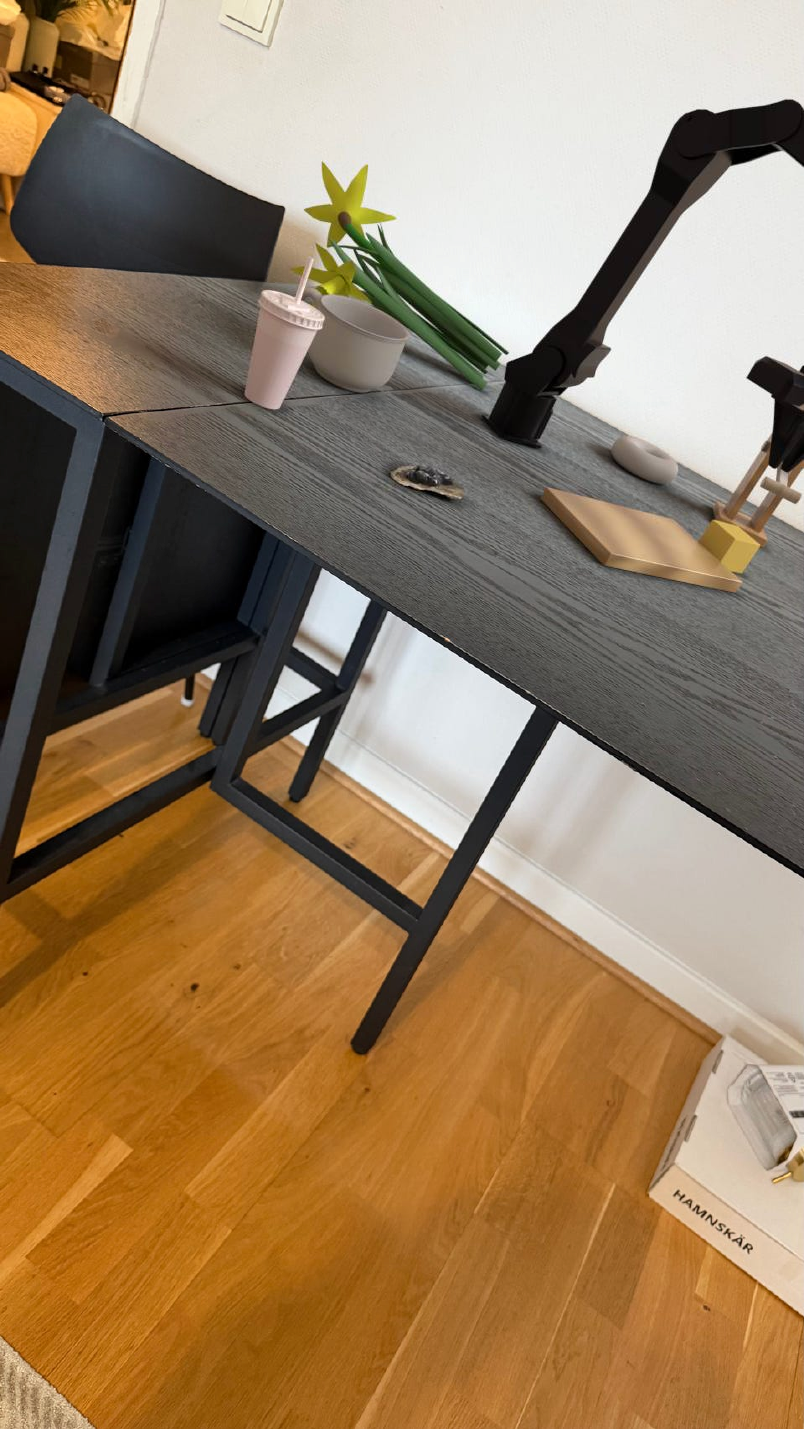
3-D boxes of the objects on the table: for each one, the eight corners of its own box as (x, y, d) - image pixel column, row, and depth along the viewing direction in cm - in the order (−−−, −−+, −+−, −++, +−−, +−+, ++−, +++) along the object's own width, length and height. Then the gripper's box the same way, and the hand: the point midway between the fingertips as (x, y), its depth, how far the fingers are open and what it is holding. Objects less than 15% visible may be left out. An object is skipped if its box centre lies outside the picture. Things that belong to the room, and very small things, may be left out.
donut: (606, 465, 130) (672, 495, 131) (619, 442, 129) (685, 473, 129) (606, 447, 139) (668, 476, 139) (618, 425, 137) (680, 454, 137)
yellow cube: (716, 568, 111) (735, 538, 109) (694, 548, 114) (712, 519, 112) (741, 573, 114) (760, 545, 112) (719, 554, 117) (737, 525, 115)
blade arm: (792, 509, 120) (804, 494, 118) (757, 491, 120) (768, 476, 118) (795, 465, 127) (806, 451, 125) (762, 449, 127) (773, 434, 125)
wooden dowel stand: (762, 548, 128) (821, 462, 121) (716, 525, 127) (771, 437, 121) (756, 530, 134) (811, 447, 128) (712, 508, 134) (764, 424, 128)
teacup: (400, 401, 114) (426, 336, 110) (351, 404, 106) (378, 334, 101) (312, 347, 118) (335, 283, 114) (258, 346, 109) (280, 276, 105)
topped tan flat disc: (473, 508, 94) (481, 491, 93) (408, 497, 90) (416, 479, 89) (440, 475, 98) (448, 458, 97) (377, 462, 94) (384, 445, 93)
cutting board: (603, 565, 96) (611, 553, 95) (539, 498, 106) (546, 486, 105) (735, 593, 107) (743, 582, 106) (666, 529, 116) (673, 519, 115)
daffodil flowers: (476, 410, 129) (263, 231, 119) (443, 430, 143) (251, 271, 133) (545, 311, 130) (339, 125, 120) (506, 340, 144) (319, 176, 134)
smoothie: (302, 410, 97) (351, 272, 90) (276, 420, 92) (326, 274, 85) (248, 381, 98) (292, 242, 91) (219, 390, 92) (264, 242, 85)
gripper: (864, 338, 89) (769, 487, 97) (971, 386, 99) (876, 518, 107) (788, 298, 97) (705, 439, 105) (894, 347, 107) (811, 473, 115)
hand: (777, 469), depth 108 cm, fingers closed
